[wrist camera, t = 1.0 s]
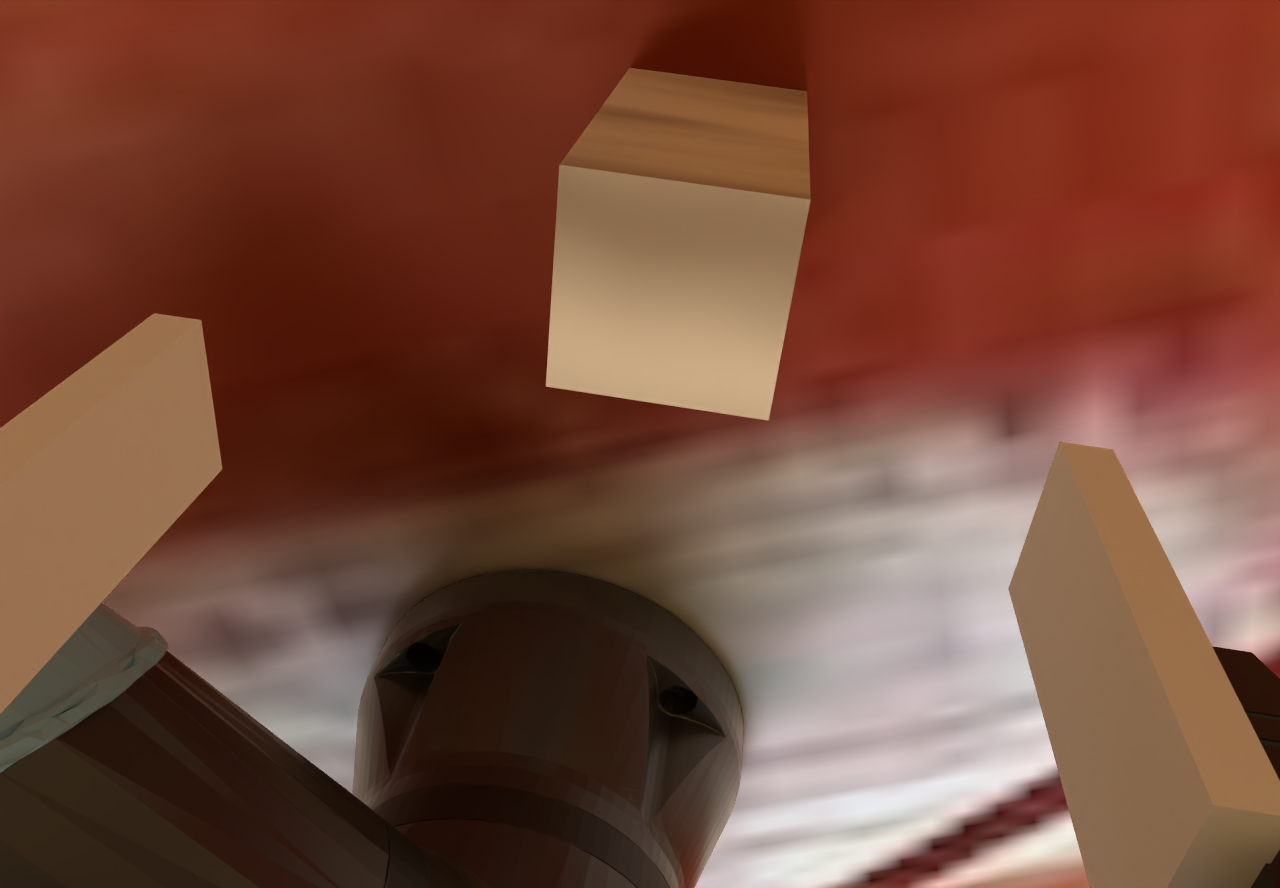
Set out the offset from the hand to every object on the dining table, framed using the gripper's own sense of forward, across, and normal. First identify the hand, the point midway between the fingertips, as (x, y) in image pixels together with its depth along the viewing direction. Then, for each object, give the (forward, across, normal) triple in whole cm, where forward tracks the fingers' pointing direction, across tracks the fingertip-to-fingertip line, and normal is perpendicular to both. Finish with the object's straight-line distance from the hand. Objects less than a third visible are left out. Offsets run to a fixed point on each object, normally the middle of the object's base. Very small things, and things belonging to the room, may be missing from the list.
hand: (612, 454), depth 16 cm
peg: (+17, 0, 0) cm, 17 cm away
